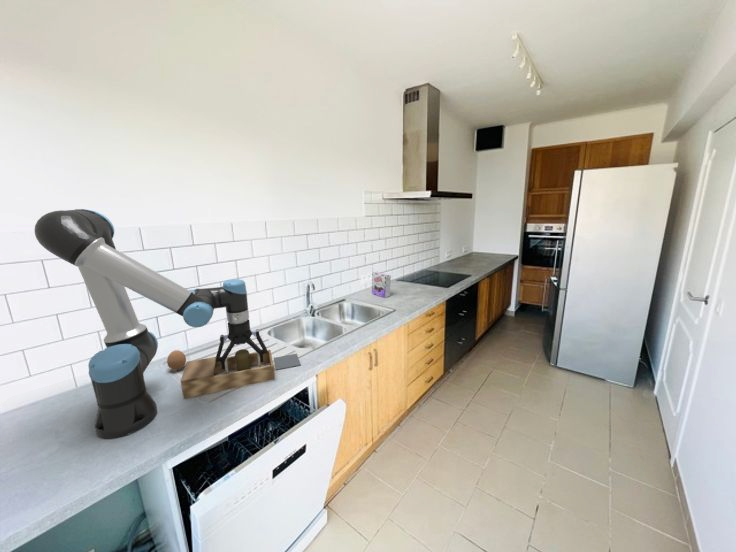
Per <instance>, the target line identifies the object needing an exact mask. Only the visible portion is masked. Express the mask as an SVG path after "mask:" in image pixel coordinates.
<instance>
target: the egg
mask: <svg viewBox="0 0 736 552" xmlns="http://www.w3.org/2000/svg"><path fill="white" fill-rule="evenodd" d="M166 359H167V360H166V363H167V366H168V368H169V369H170V370H172V371H179V370H181V369H183V368H184V366H186V363H187V357H186V355H185V353H184V352H182V351H181V350H179V349H178V350H173V351H171V352H170V353H169V354H168V356H167V358H166Z"/></svg>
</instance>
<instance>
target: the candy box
mask: <svg viewBox="0 0 736 552" xmlns="http://www.w3.org/2000/svg"><path fill="white" fill-rule="evenodd" d="M371 276H372V277H371V294H372V295H373V296H374V295H375V296H377V297H381V298H384V299H386V298H389V297H391V281H392V280H391V279H392V276H391V274H388V273H384V272H380V271H374V272H372V274H371Z"/></svg>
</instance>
